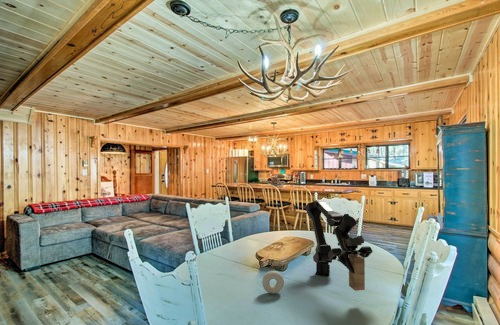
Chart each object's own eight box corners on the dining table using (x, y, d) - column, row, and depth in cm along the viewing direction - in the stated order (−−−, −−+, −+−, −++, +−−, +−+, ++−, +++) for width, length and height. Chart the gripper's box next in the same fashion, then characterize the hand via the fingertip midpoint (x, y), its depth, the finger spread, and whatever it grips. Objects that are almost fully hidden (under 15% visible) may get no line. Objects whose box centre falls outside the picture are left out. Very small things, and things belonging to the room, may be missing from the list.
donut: (283, 291, 113) (283, 269, 114) (284, 295, 110) (284, 272, 110) (261, 291, 113) (261, 269, 113) (262, 295, 109) (262, 272, 110)
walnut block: (348, 285, 105) (348, 255, 105) (358, 284, 106) (358, 254, 106) (355, 290, 101) (355, 258, 101) (364, 289, 101) (364, 258, 102)
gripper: (331, 229, 106) (345, 265, 95) (369, 228, 109) (388, 262, 98) (322, 242, 114) (335, 277, 102) (359, 240, 117) (375, 274, 106)
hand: (358, 272), depth 102 cm, fingers closed on walnut block, 4 cm apart
